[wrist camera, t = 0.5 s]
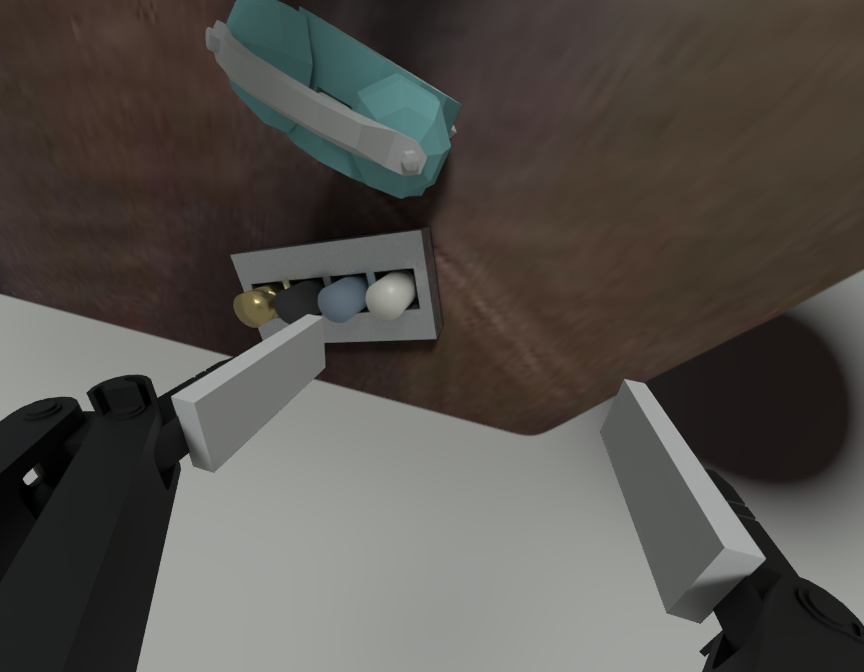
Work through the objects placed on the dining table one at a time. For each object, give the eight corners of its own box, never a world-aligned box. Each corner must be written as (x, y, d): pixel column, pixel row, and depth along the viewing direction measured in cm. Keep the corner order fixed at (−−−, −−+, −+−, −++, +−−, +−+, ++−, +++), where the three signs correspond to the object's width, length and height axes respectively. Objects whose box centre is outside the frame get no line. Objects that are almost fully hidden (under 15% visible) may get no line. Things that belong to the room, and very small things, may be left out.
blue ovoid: (339, 275, 40) (313, 287, 35) (370, 272, 39) (348, 284, 34) (347, 307, 42) (323, 323, 37) (377, 305, 41) (357, 322, 36)
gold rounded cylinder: (262, 282, 43) (228, 295, 38) (289, 279, 42) (257, 292, 37) (273, 312, 45) (241, 328, 40) (299, 310, 44) (270, 326, 39)
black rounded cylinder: (299, 278, 42) (268, 291, 37) (328, 276, 41) (300, 288, 35) (309, 309, 44) (280, 326, 38) (336, 308, 42) (311, 324, 37)
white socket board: (255, 249, 45) (230, 254, 41) (430, 226, 38) (420, 229, 34) (284, 332, 50) (264, 344, 46) (443, 325, 43) (436, 338, 39)
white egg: (382, 270, 39) (361, 283, 33) (415, 267, 38) (399, 279, 32) (388, 304, 40) (370, 321, 35) (421, 302, 39) (407, 319, 34)
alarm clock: (490, 123, 32) (464, 38, 15) (446, 210, 37) (384, 225, 19) (346, 34, 32) (140, -162, 14) (318, 132, 36) (136, 75, 19)
